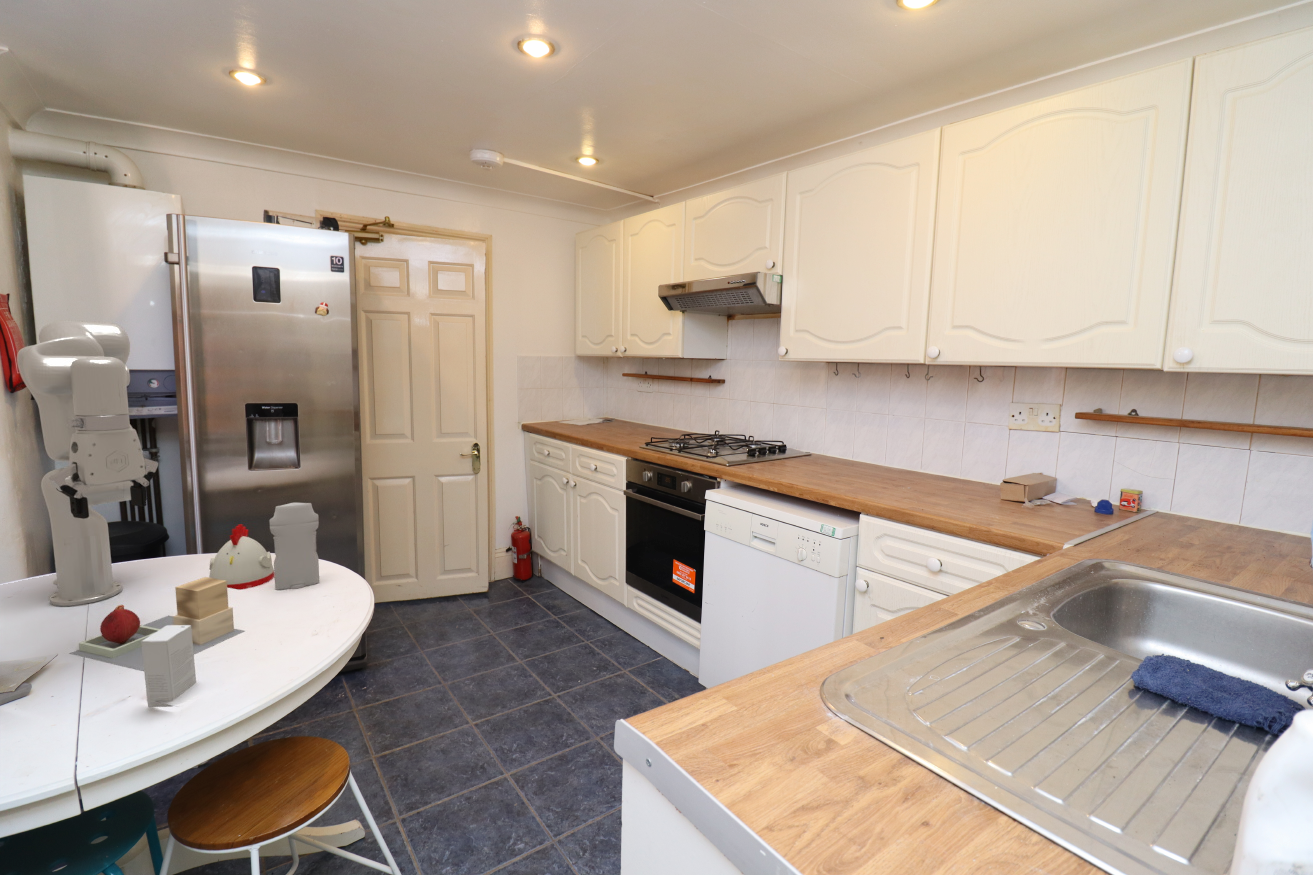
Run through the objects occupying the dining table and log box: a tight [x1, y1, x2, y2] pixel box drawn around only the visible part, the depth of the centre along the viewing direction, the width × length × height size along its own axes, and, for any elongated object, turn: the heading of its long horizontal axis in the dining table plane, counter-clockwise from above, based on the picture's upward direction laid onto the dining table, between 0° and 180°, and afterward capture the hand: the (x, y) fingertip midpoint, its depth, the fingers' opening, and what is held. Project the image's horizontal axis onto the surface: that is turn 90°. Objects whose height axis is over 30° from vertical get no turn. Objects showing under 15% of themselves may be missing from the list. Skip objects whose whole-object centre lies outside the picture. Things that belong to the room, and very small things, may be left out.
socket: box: [78, 624, 160, 658], centre depth 118 cm, size 9×9×2 cm
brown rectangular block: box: [172, 606, 235, 645], centre depth 122 cm, size 7×7×5 cm
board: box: [69, 615, 246, 672], centre depth 119 cm, size 22×18×1 cm
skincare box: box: [141, 625, 197, 708], centre depth 102 cm, size 6×4×12 cm
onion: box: [99, 604, 141, 644], centre depth 117 cm, size 6×6×8 cm
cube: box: [174, 576, 230, 620], centre depth 122 cm, size 6×6×6 cm
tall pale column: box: [268, 502, 320, 591], centre depth 151 cm, size 11×4×22 cm, turn 125°
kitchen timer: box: [208, 523, 275, 591], centre depth 154 cm, size 14×14×15 cm
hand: (111, 511), depth 114 cm, fingers open, 9 cm apart
